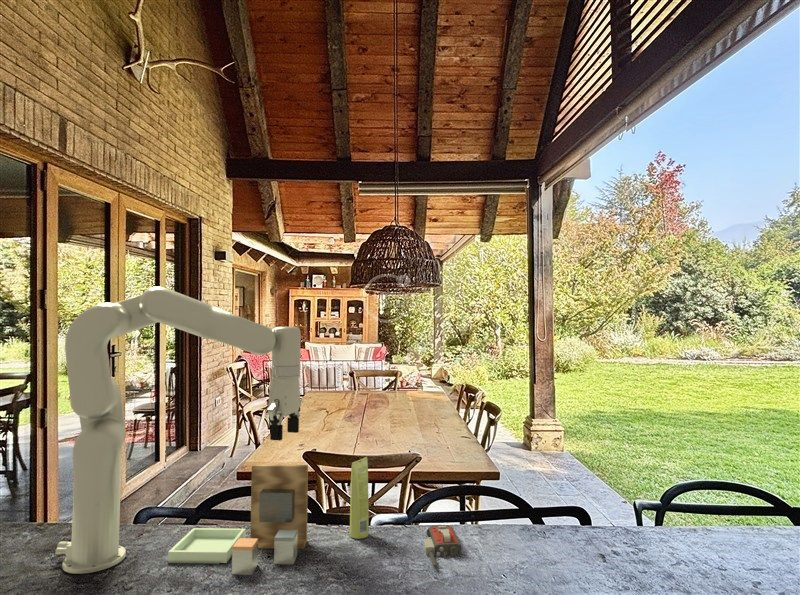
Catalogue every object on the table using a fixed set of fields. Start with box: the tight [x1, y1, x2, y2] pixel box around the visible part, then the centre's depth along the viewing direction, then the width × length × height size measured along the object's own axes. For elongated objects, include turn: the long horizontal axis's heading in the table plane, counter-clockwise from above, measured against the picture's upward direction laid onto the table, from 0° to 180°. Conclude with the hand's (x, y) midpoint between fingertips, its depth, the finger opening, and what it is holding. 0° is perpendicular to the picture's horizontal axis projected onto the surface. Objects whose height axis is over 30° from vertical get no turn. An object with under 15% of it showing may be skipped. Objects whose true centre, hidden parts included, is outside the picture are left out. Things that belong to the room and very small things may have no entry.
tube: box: [349, 456, 370, 540], centre depth 132 cm, size 6×5×20 cm
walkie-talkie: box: [423, 524, 462, 569], centre depth 123 cm, size 9×4×20 cm
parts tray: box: [167, 527, 247, 564], centre depth 123 cm, size 14×14×2 cm
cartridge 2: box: [273, 530, 298, 565], centre depth 118 cm, size 4×4×6 cm
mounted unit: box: [250, 464, 309, 550], centre depth 126 cm, size 14×5×19 cm, turn 89°
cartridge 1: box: [231, 538, 259, 576], centre depth 113 cm, size 4×4×6 cm
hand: (284, 436), depth 135 cm, fingers open, 9 cm apart
